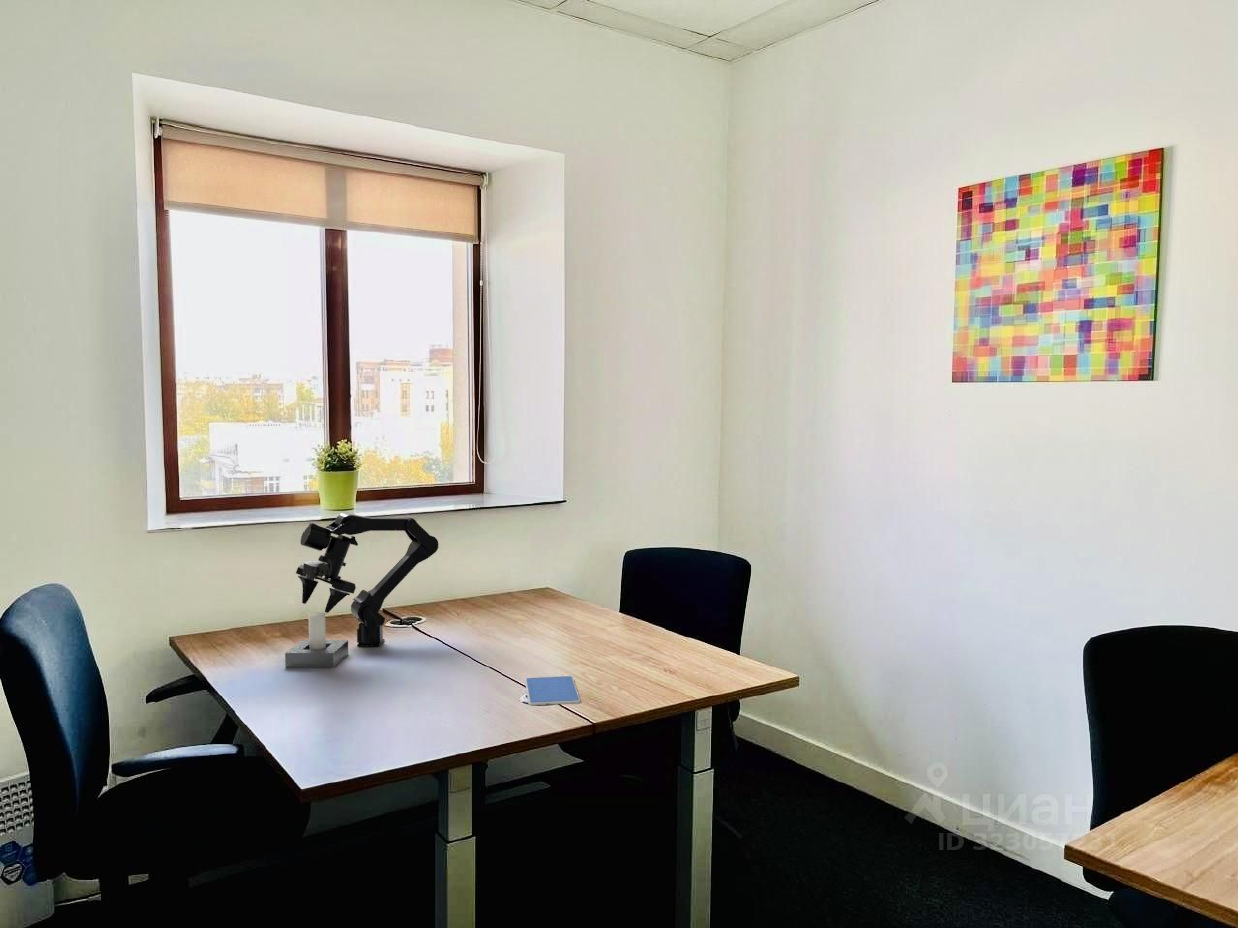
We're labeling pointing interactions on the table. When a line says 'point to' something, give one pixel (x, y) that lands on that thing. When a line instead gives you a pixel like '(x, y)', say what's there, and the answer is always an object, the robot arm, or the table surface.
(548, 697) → the tablet computer
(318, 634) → the peg
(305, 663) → the collar
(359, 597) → the robot arm
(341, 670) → the table surface
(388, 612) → the table surface
